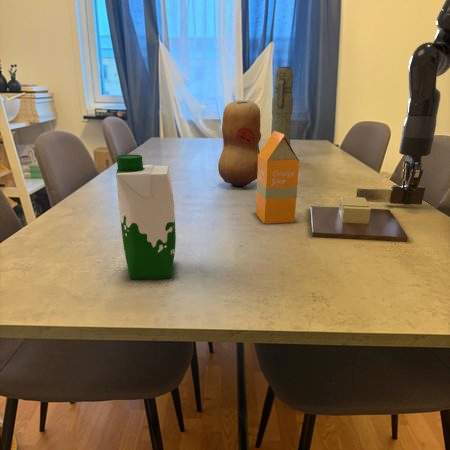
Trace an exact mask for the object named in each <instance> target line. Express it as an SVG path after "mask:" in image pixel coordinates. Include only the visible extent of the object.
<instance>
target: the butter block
mask: <svg viewBox="0 0 450 450" xmlns="http://www.w3.org/2000/svg"><path fill="white" fill-rule="evenodd" d="M344 206H348V207H370V205H369V202H367V201H366V199H365V198H360V197H356V196H340V197H339V205H338V207H339V213H340V216H341V219H342V215H343V207H344Z"/></svg>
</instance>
